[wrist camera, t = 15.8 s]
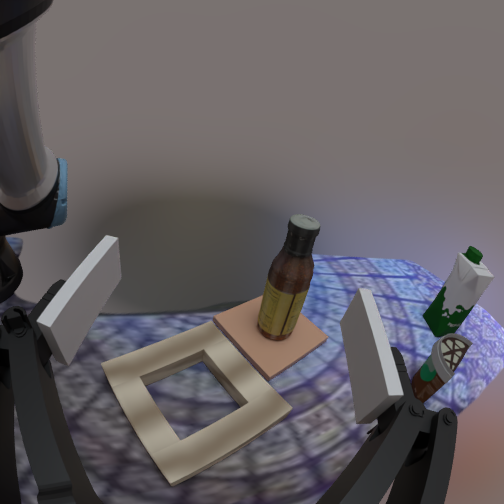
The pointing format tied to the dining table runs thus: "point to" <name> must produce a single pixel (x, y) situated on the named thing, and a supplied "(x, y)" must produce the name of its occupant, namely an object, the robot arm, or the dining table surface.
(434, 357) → the food container
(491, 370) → the dining table surface
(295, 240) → the sauce bottle
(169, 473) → the bottle stand
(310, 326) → the terracotta tile
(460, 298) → the milk carton
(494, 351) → the dining table surface
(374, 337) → the robot arm
